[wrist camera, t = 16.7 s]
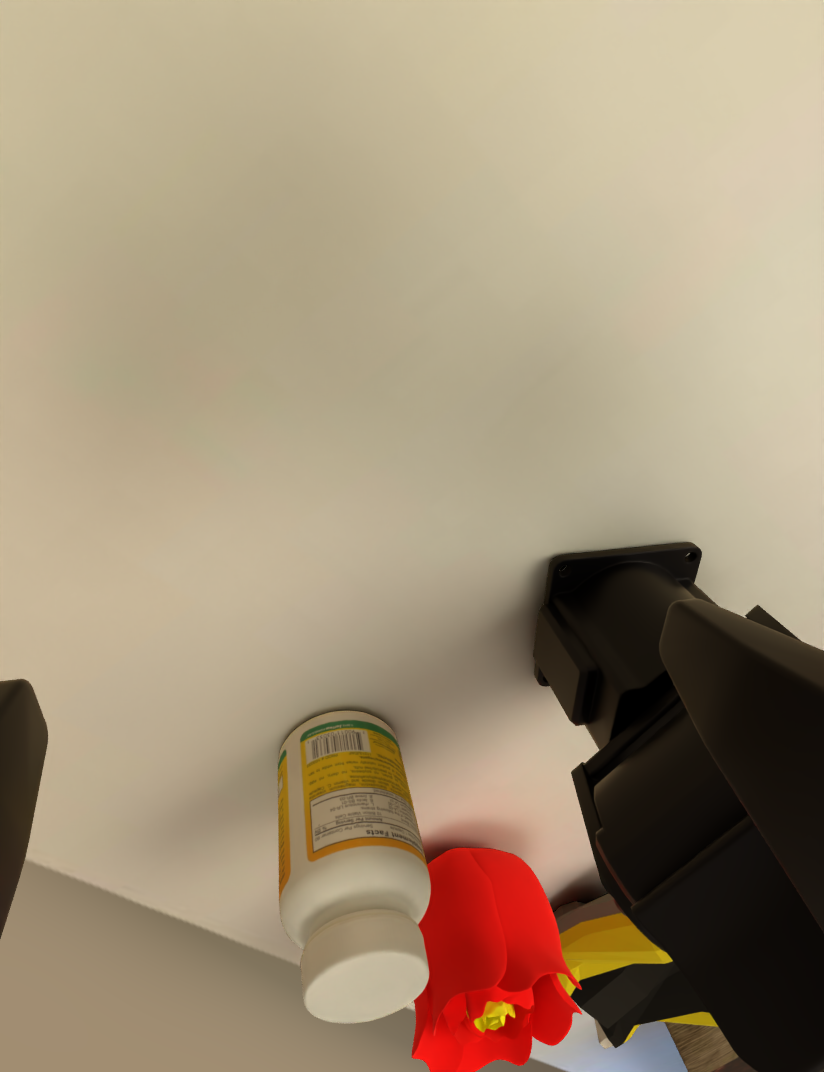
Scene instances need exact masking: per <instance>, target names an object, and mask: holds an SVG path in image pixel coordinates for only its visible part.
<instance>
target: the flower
mask: <svg viewBox="0 0 824 1072" xmlns="http://www.w3.org/2000/svg"><path fill="white" fill-rule="evenodd" d="M427 867H428V871H429V876H430V883H431V894H430V900H429V904H428V907H427V910H426V912H425V914H424V916H423V918H422V920H421V921H420V923H419V924H418V926H419V929H420V931H421V933H422V935H423V938H424V945H425V950H426V955H427V961H428V967H429V979H428V982H427V985H426V987H425V989H424V990H423V992H422V993H421V994H420V995H419V996H418V997H417V998H416V999H415V1000H414V1003H415V1011H416V1029H415V1036H414V1042H413V1049H412V1058H414V1059H420V1060H423V1061H424V1062H426V1063H427V1065H428V1067H429V1070H430V1072H475V1071H477V1070H479V1069H480V1068H482V1067H483V1066H485V1065H487V1064H488V1063H490V1062H492V1061H494V1060H500V1059H501V1060H506V1061H509V1062H511V1063H513V1064H515V1065H518V1066H520V1065H524V1064H525V1063H526V1062H527V1060H528V1059H529V1057H530V1053H531V1048H532V1036H533V1037H534V1038H535V1039H537V1040H539V1041H540V1042H542V1043H545V1044H547V1045H551V1046H553V1045H557V1044H558V1043H559V1042H561V1041H562V1040H563V1039H564V1037H565V1036H566V1035H567V1033H568V1032H569V1030H570V1028H571V1025H572V1014H573V1013H574V1012H577V1013H580V1014H581V1015H582V1013H581V1011H580V1009H579V1008H578V1006H577V1005H576V1004H575V1002H574V1001H573V1000H572V998H571V997H570V996H569V994H568V993H567V992H566V990H565V989H564V988H563V986H562V984H561V982H560V980H559V978H558V976H557V973H560V974H564V975H566V976H567V977H568V979H569V980H570V982H571V983H572V984H573V985H574V986H575V987H577V988H579V989H580V990H582V988H581V986H580V984H579V983H578V981H577V980H576V979H575V977H574V976H573V975H572V973H571V972H570V970H569V969H568V967H567V965H566V963H565V961H564V958H563V955H562V949H561V942H560V936H559V930H558V926H557V923H556V920H555V916H554V914H553V911H552V908H551V906H550V903H549V901H548V899H547V896H546V894H545V892H544V890H543V888H542V886H541V884H540V882H539V880H538V879H537V877H536V875H535V874H534V872H533V871H532V870H531V868H530V867H529V866H528V865H527V864H526V863H525V862H524V861H523V860H522V859H521V858H519V857H517V856H516V855H514V854H511V853H507V852H504V851H500V850H496V849H490V848H463V847H461V848H454V849H450V850H448V851H446V852H444V853H443V854H441V855H439V856H438V857H436V858H435V859H433V860H432V861H431V862H430V863H428V864H427Z"/></svg>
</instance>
